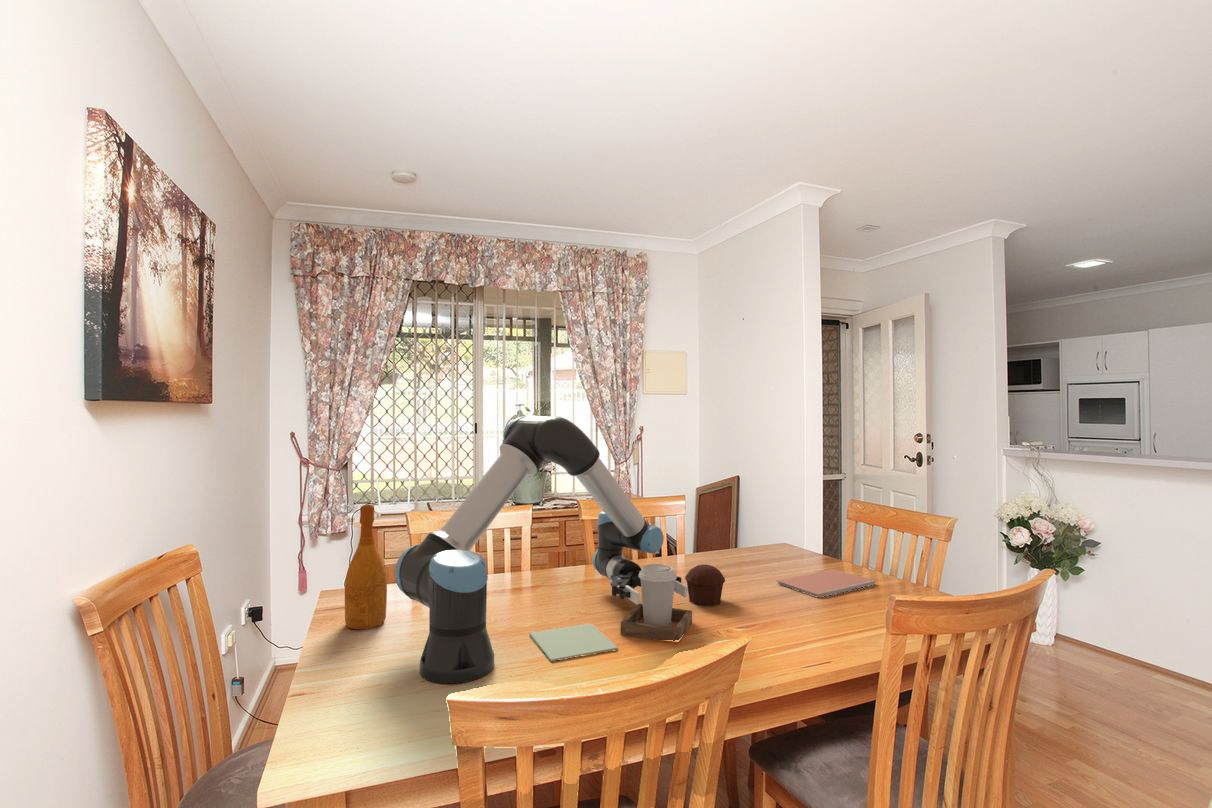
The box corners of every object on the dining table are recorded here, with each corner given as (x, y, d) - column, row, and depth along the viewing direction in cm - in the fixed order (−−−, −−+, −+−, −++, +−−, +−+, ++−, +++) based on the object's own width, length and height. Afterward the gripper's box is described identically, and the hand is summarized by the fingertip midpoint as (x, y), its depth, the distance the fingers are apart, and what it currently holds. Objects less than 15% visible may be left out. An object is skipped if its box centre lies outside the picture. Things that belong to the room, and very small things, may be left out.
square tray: (678, 643, 135) (678, 630, 135) (620, 634, 140) (620, 622, 140) (691, 622, 149) (692, 610, 149) (638, 614, 154) (638, 603, 154)
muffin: (694, 592, 173) (694, 559, 173) (730, 598, 168) (730, 564, 168) (678, 603, 163) (678, 568, 163) (716, 611, 157) (716, 574, 158)
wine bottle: (393, 617, 150) (394, 502, 150) (374, 632, 140) (376, 508, 141) (357, 616, 151) (358, 501, 151) (336, 630, 141) (337, 507, 142)
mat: (617, 650, 131) (617, 647, 131) (550, 662, 125) (550, 659, 125) (590, 625, 146) (590, 623, 146) (529, 635, 139) (529, 632, 139)
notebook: (820, 601, 168) (821, 594, 168) (776, 586, 182) (776, 579, 182) (878, 587, 182) (878, 581, 182) (833, 574, 196) (833, 568, 196)
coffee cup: (645, 637, 139) (646, 574, 139) (633, 623, 148) (633, 564, 148) (682, 633, 141) (682, 572, 141) (668, 619, 150) (668, 562, 151)
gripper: (663, 581, 167) (705, 603, 148) (583, 591, 157) (616, 617, 137) (663, 555, 167) (705, 574, 148) (583, 563, 157) (617, 585, 138)
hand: (662, 595), depth 143 cm, fingers open, 13 cm apart
